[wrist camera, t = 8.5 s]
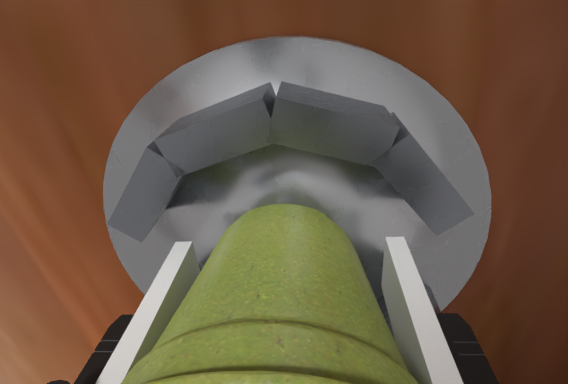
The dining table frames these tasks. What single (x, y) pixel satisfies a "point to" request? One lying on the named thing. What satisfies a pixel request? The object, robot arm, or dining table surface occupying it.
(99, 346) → the robot arm
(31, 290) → the dining table surface
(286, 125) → the hub
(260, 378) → the plant pot
